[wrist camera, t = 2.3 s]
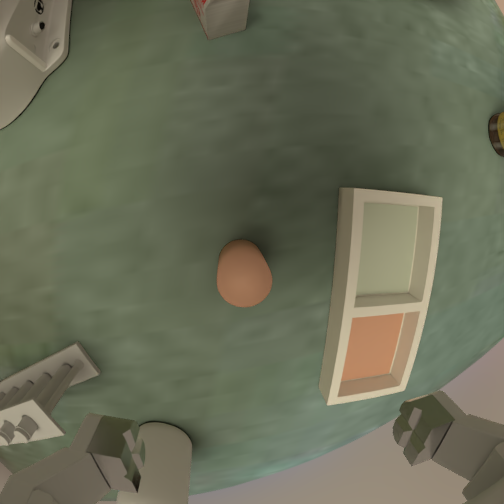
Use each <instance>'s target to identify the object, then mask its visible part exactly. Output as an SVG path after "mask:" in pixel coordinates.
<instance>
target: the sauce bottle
mask: <svg viewBox="0 0 504 504" xmlns="http://www.w3.org/2000/svg"><path fill="white" fill-rule="evenodd" d="M489 136H490V140H491V142H492V145H493V147H494V148H495V150H496V152H497V153H498V154H499V155H501V156H504V112H502V113H498V114H496V115H494V116H493V117H492V118H491V119H490V122H489Z"/></svg>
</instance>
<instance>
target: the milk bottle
mask: <svg viewBox="0 0 504 504" xmlns="http://www.w3.org/2000/svg"><path fill="white" fill-rule="evenodd" d="M139 428H140V430H139V434H138V435H139V436H140V437H141V438H142V439H143V441H144V444H145V462H144V466H143V467H142V468H141V469H139V470H138V471H139V473H140V475H141V480H140V485H139V489H138V493H133V492H126V491H120V490H118V495H117V504H188V496H189V483H190V470H191V457H192V443H191V441H190V439H189V437H188V436H187V435H186V434H185V433H184V432H183V431H182V430H180V429H179V428H177V427H175V426H172V425H169V424H166V423H160V422H151V423H146V424H143V425H141V426H140V427H139Z"/></svg>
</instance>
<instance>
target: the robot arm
mask: <svg viewBox="0 0 504 504" xmlns="http://www.w3.org/2000/svg"><path fill="white" fill-rule="evenodd" d="M71 6H72V0H0V129H2V128H3V127H5V126H7V125H8V124H9V123H11V122H12V121H13V120H14V119H15V118H16V117H18V116H19V114H20V113H21V112H22V111H23V110H24V109H25V108H26V106H27V105H28V104H29V103H30V101H31V100H32V98H33V97H34V95H35V94H36V92H37V91H38V89H39V87H40V86H41V84H42V83H43V81H44V80H45V78H46V77H47V76H48V75H49V74H50V73H51V72H53V71H54V70H55V69H56V68H57V67H58V66H59V65H60V64H61V63H62V62H63V61H64V60H65V58H66V57H67V54H68V46H69V28H70V16H71ZM58 45H59V46H58ZM57 46H58V47H57ZM56 47H57V48H56ZM399 411H400V413H401V415H400V416H399V417H398V418H397V419H396V420H395V423H394V426H393V435H394V439H395V441H396V442H397V444H398V445H400V446H402V447H404V452H403V453H404V455H405V457H406V458H407V460H408V461H409V463H410V464H411V466H413V465H416V464H419V463H422V462H424V461H427V460H430V459H432V460H433V461H434V462H436V463H438V464H440V465H442V466H443V467H445V468H447V469H449V470H451V471H452V472H454V473H456V474H458V475H460V476H462V477H464V478H466V479H467V480H469V481H470V482H469V483H468V484H467V486H466V487H465V488H464V489H463V492H462V493H463V495H464V496H465V498H466V499H467V502H465V503H464V504H504V425H502V424H499V423H496V422H492V421H489V420H486V419H483V418H480V417H477V416H473V415H471V414H469V415H466V414H465V413H464V412H463V411H462V410H461V409H460V408H459V407H458V406H457V405H456V404H455V403H454V402H453V401H452V400H451V399H450V398H449V397H448V396H447V395H446V394H445V393H444V392H443V391H437V392H433V393H430V394H428V395H424V396H421V397H417V398H414V399H411V400H407V401H404V403H403V404H402V405H401V407H400V410H399ZM139 430H140V428H139V425H138V423H137V421H135V420H129V419H122V418H116V417H111V416H105V415H98V414H94V413H89V414H87V415H86V416H85V418H84V420H83V422H82V424H81V426H80V428H79V430H78V432H77V434H76V436H75V438H74V440H73V442H72V444H71V446H70V448H67V447H64V448H63V449H61V450H59V451H57V452H55V453H53V454H52V455H50V456H48V457H46V458H44V459H42V460H40V461H38V462H37V463H35V464H33V465H31V466H29V467H27V468H25V469H23V470H21V471H19V472H17V473H15V474H13V475H11V476H10V477H9V479H8V481H7V483H6V484H5V486H4V488H3V490H2V492H1V494H0V504H96V503H97V502H98V501H99V500H100V499H102V498H103V497H104V496H105V495H106V494H107V493H108V492H110V491H111V489H114V490H120V491H126V492H133V493H138V489H139V485H140V480H141V475H140V473H139V471H138V470H139V469H141V468H142V467H143V466H144V462H145V444H144V441H143V439H142V438H141V437H140V436H139V435H138V434H139Z"/></svg>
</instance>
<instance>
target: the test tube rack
mask: <svg viewBox="0 0 504 504" xmlns="http://www.w3.org/2000/svg"><path fill="white" fill-rule="evenodd" d="M100 372H101V371H100V370H99V368H98V367H97V366H96V365H95V363H94V362H93V361H92V359H91V358H90V357H89V355H88V354H87V352H86V351H85V350H84V348H83V347H82V345H81V344H80V343H79V341H78V342H76V343H74V344H72V345H70V346H68V347H66V348H64V349H62V350H60V351H58V352H56V353H54V354H52V355H50V356H48V357H46V358H45V359H43V360H41V361H39V362H37V363H35V364H33V365H31V366H29V367H27V368H25V369H23V370H21V371H19V372H17V373H15V374H13V375H11V376H9V377H7V378H5V379H3V380H2V381H0V445H6V446H8V445H9V444H16V443H27V442H29V441H35V440H41V439H47V438H52V437H57V436H62V435H65V433H66V432H65V431H64V430H63V429H62V428H61V427H60V425H59V424H58V423H57V422H56V421H55V420H54V419H53V418H52V417H51V412H52V410H53V409H54V407H55V406H56V404H57V403H58V401H59V400H60V398H61V397H62V395H63V394H64V392H65V391H66V389H67V388H68V387H70V386H73V385H75V384H78V383H80V382H83V381H85V380H88V379H90V378H93V377H95V376H98V375H99V374H100Z"/></svg>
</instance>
